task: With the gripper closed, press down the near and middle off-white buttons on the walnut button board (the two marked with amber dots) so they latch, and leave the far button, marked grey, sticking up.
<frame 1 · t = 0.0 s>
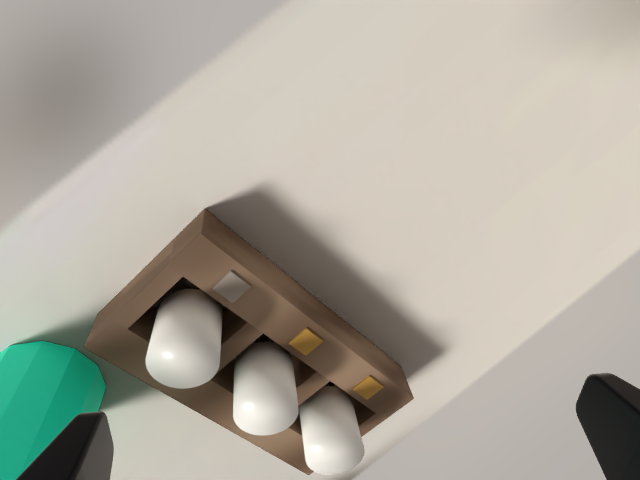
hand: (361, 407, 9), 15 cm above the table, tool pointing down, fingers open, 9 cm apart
button board: (262, 342, 27), on the table
button middle: (264, 387, 24), point 3 cm above the table, slide at 0.0 cm
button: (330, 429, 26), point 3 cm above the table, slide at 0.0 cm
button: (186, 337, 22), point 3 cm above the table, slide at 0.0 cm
candle: (47, 381, 26), on the table
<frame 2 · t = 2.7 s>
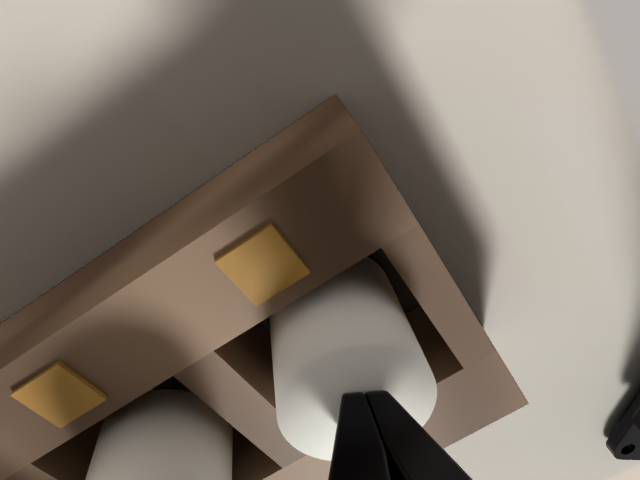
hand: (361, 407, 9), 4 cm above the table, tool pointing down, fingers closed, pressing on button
button board: (176, 383, 13), on the table
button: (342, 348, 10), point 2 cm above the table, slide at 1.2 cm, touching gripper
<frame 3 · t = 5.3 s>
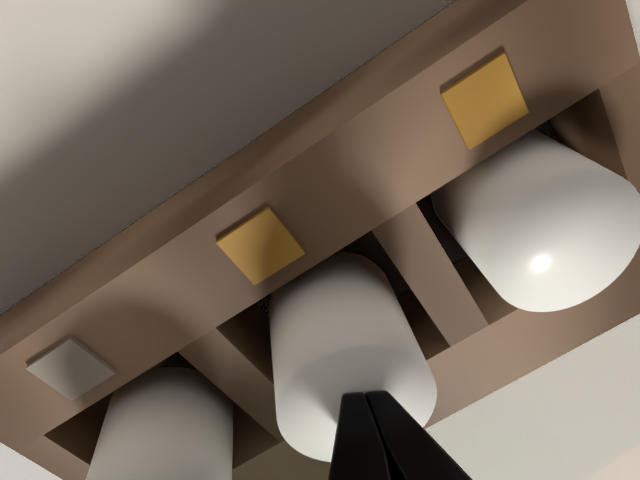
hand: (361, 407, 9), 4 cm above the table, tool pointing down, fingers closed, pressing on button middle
button board: (323, 275, 13), on the table
button middle: (342, 349, 10), point 3 cm above the table, slide at 0.4 cm, touching gripper
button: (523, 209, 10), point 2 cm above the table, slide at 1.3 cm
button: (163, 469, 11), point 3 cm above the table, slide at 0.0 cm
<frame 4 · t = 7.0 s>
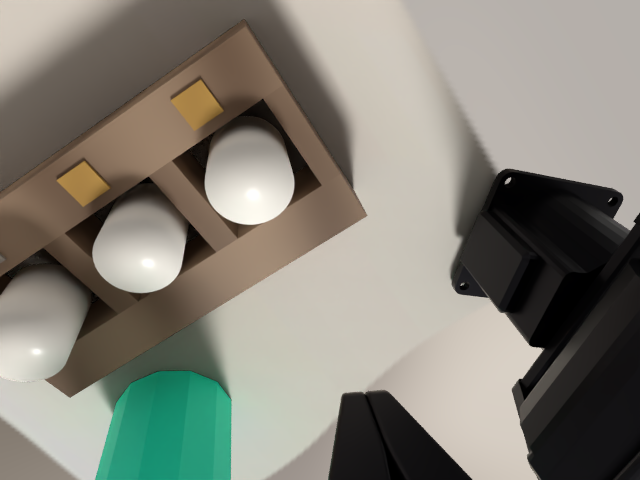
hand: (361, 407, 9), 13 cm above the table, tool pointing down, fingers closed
button board: (152, 213, 20), on the table
button middle: (145, 236, 19), point 2 cm above the table, slide at 1.3 cm
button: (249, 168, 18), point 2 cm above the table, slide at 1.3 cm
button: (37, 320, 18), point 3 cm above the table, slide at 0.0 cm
candle: (175, 409, 26), on the table
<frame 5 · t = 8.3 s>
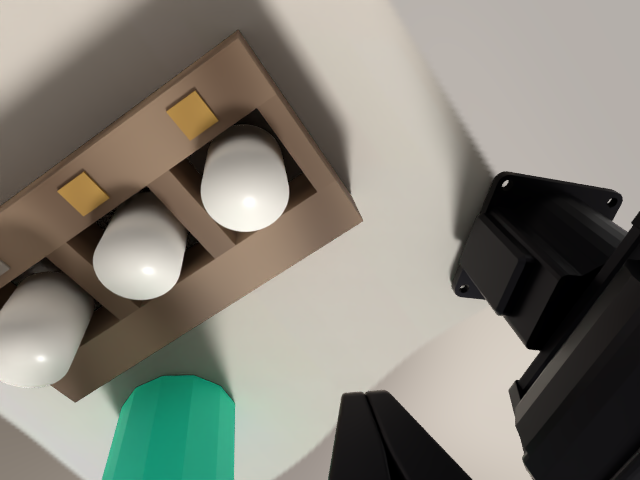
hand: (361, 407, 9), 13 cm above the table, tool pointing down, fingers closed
button board: (153, 221, 21), on the table
button middle: (145, 244, 19), point 2 cm above the table, slide at 1.3 cm
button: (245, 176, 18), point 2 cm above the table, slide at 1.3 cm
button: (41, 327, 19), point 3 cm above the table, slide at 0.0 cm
candle: (180, 412, 26), on the table
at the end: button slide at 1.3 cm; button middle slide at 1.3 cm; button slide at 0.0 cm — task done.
